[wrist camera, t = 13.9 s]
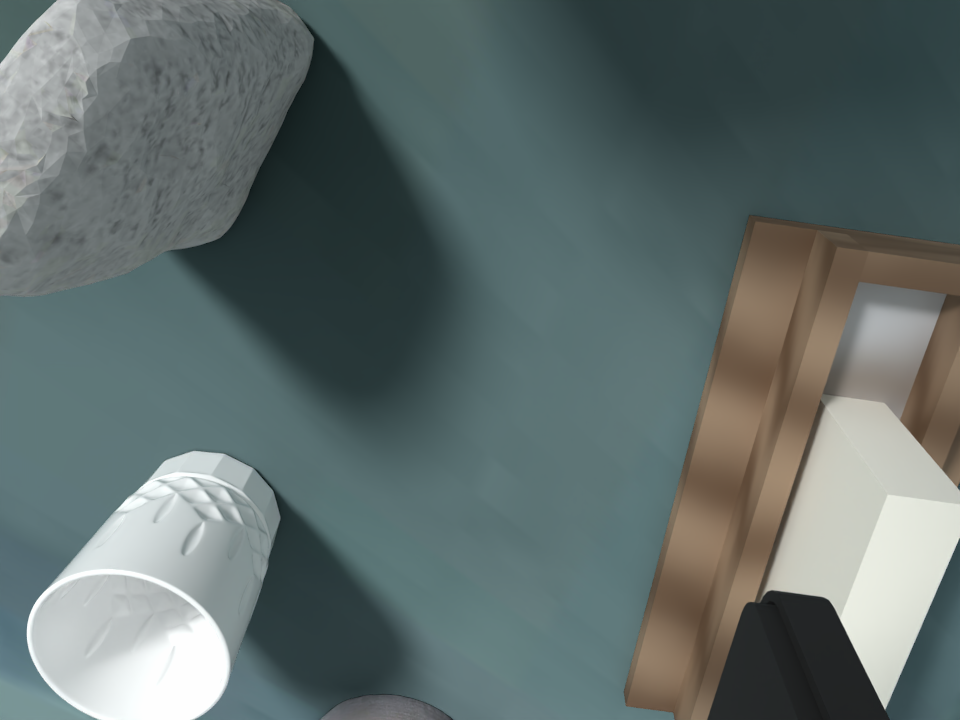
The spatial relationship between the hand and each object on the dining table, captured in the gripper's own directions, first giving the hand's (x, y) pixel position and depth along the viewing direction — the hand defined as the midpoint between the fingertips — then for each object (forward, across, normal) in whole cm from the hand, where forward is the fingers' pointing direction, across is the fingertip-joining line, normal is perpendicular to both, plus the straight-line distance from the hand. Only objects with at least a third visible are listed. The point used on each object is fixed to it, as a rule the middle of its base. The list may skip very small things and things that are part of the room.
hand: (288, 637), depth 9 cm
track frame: (+28, -18, +14) cm, 36 cm away
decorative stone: (+28, +10, 0) cm, 30 cm away
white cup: (+28, +10, +19) cm, 36 cm away
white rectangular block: (+27, -18, +14) cm, 35 cm away
